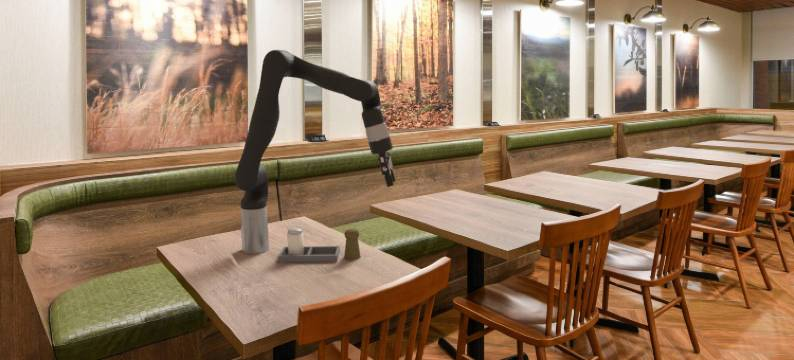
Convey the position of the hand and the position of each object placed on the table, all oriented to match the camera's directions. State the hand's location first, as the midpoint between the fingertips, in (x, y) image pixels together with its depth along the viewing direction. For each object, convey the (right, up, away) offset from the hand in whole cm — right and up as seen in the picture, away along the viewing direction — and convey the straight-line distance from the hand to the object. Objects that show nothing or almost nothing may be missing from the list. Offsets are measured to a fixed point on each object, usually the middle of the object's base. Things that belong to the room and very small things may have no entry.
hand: (391, 184), depth 186 cm
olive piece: (-14, -27, +9) cm, 32 cm away
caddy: (-29, -27, +9) cm, 41 cm away
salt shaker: (-34, -26, +9) cm, 44 cm away
